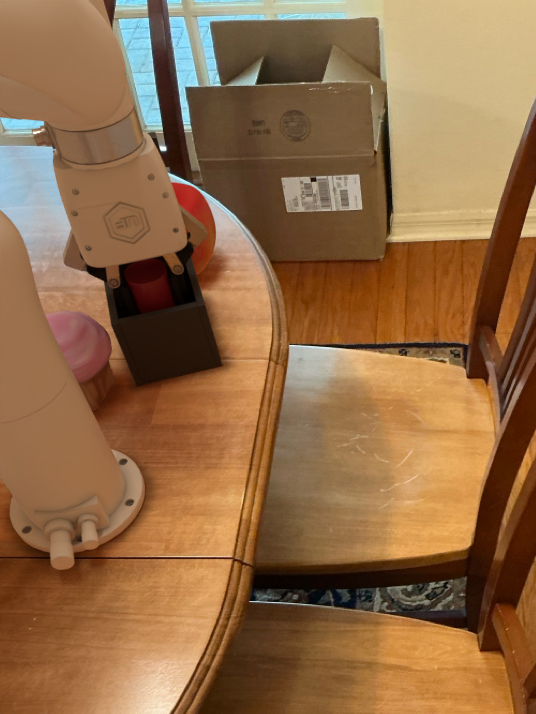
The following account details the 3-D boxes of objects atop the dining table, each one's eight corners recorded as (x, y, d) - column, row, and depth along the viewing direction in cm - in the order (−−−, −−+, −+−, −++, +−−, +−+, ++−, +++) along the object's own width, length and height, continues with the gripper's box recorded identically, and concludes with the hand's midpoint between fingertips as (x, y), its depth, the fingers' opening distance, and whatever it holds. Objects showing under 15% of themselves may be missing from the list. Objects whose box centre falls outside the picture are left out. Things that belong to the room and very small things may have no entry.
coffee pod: (181, 314, 81) (169, 278, 78) (139, 323, 81) (126, 287, 77) (174, 290, 84) (163, 254, 80) (134, 299, 83) (121, 263, 80)
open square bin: (222, 365, 86) (205, 304, 79) (136, 386, 84) (111, 325, 78) (203, 299, 93) (185, 238, 86) (123, 317, 91) (99, 256, 85)
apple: (185, 239, 101) (164, 164, 92) (241, 261, 97) (224, 185, 89) (133, 278, 96) (106, 203, 88) (190, 302, 93) (167, 227, 85)
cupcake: (103, 432, 80) (67, 358, 72) (31, 417, 82) (-13, 343, 74) (143, 375, 85) (112, 300, 77) (74, 363, 87) (37, 288, 79)
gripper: (-1, 172, 64) (80, 346, 79) (199, 134, 67) (241, 309, 82) (-3, 130, 68) (74, 303, 83) (186, 97, 71) (228, 269, 86)
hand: (156, 304), depth 82 cm, fingers closed on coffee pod, 4 cm apart
